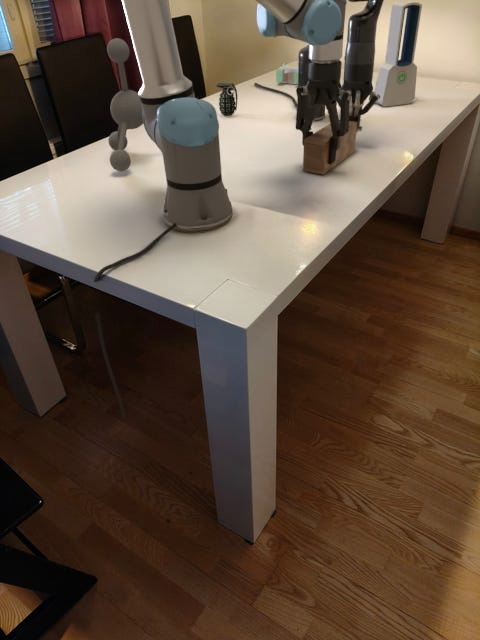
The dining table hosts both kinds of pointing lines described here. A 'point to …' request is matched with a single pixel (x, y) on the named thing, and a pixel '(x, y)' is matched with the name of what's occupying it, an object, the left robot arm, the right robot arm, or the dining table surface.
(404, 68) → the electronic device
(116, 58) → the molecular model
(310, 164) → the brown wooden brick
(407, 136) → the dining table surface
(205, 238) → the dining table surface
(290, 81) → the decorative block
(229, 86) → the grenade
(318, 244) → the dining table surface
